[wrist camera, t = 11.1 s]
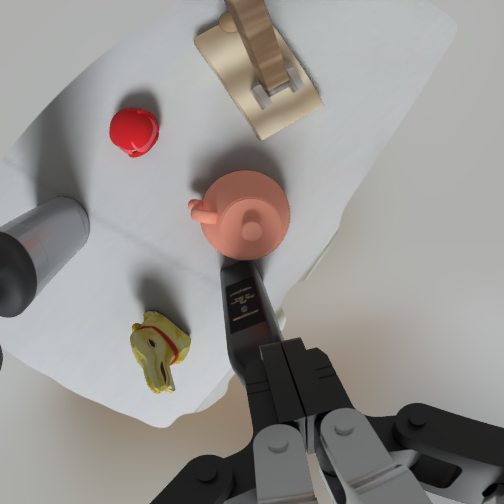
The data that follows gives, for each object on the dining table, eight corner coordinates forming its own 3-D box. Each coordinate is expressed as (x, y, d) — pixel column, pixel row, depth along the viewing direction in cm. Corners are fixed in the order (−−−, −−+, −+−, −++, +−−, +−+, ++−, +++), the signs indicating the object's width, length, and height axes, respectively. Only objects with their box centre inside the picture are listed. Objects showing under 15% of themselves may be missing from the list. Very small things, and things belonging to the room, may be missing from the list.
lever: (296, 81, 33) (249, -61, 15) (268, 96, 33) (207, -46, 15) (278, 67, 34) (230, -63, 17) (252, 81, 35) (192, -48, 17)
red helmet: (174, 136, 37) (151, 100, 32) (139, 167, 36) (112, 133, 31) (149, 125, 41) (128, 96, 36) (119, 152, 40) (96, 124, 35)
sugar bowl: (271, 257, 48) (287, 287, 38) (181, 239, 45) (174, 267, 36) (294, 180, 44) (317, 193, 35) (199, 157, 41) (195, 163, 32)
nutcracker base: (317, 106, 40) (333, 103, 35) (259, 140, 41) (267, 140, 35) (253, 10, 34) (259, -7, 28) (192, 41, 35) (189, 27, 29)
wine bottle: (217, 270, 47) (233, 437, 20) (252, 256, 47) (306, 413, 20) (232, 299, 50) (259, 465, 22) (264, 286, 50) (322, 445, 22)
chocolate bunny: (150, 297, 48) (133, 356, 34) (198, 337, 52) (197, 402, 38) (125, 319, 49) (103, 380, 35) (171, 357, 53) (165, 421, 39)
